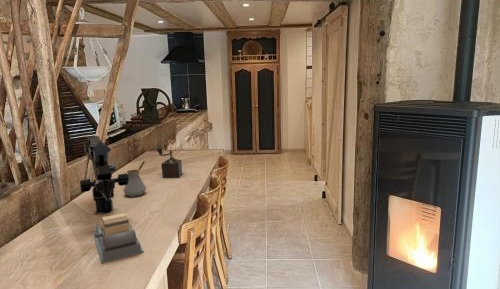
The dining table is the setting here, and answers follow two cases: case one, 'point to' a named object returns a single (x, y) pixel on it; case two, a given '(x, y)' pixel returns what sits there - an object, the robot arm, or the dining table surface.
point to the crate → (115, 224)
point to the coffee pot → (134, 183)
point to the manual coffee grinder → (170, 166)
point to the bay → (116, 244)
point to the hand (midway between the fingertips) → (108, 200)
